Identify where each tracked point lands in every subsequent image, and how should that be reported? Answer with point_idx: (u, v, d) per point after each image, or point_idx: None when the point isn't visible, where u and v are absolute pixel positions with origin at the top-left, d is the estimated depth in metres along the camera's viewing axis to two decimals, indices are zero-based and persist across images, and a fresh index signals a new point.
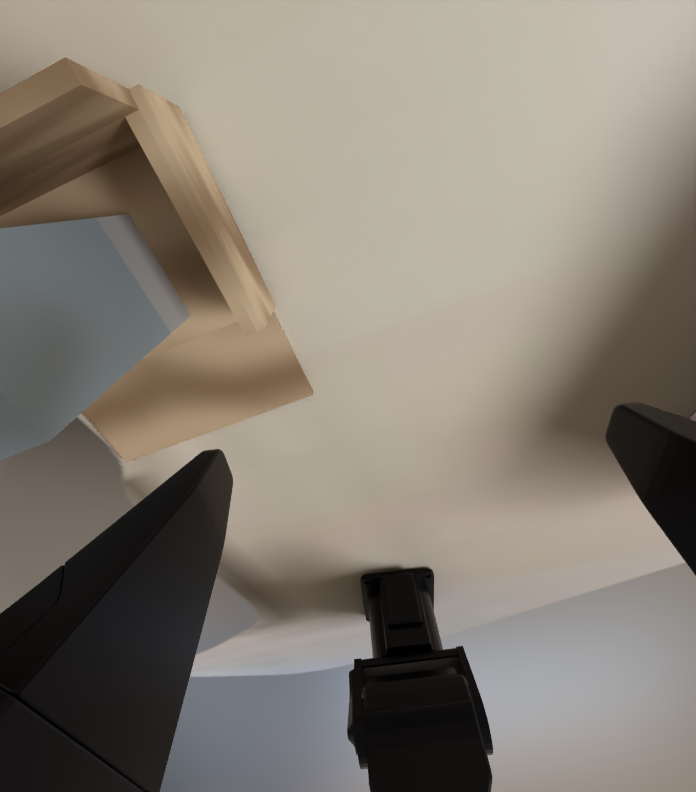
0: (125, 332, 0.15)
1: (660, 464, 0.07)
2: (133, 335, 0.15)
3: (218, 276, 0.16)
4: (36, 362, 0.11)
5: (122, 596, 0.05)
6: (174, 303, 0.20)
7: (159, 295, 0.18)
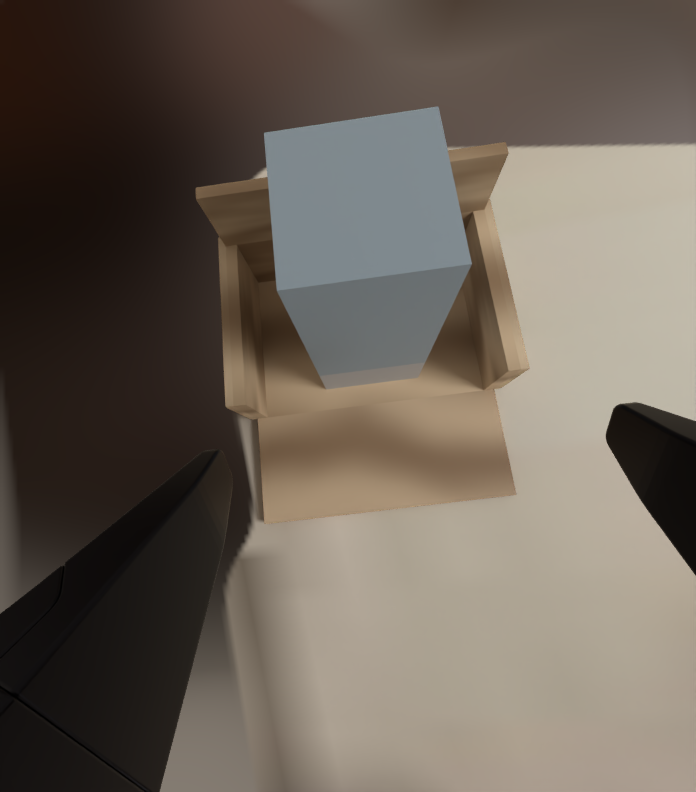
0: None
1: (660, 464, 0.07)
2: None
3: (501, 315, 0.18)
4: None
5: (122, 596, 0.05)
6: None
7: None
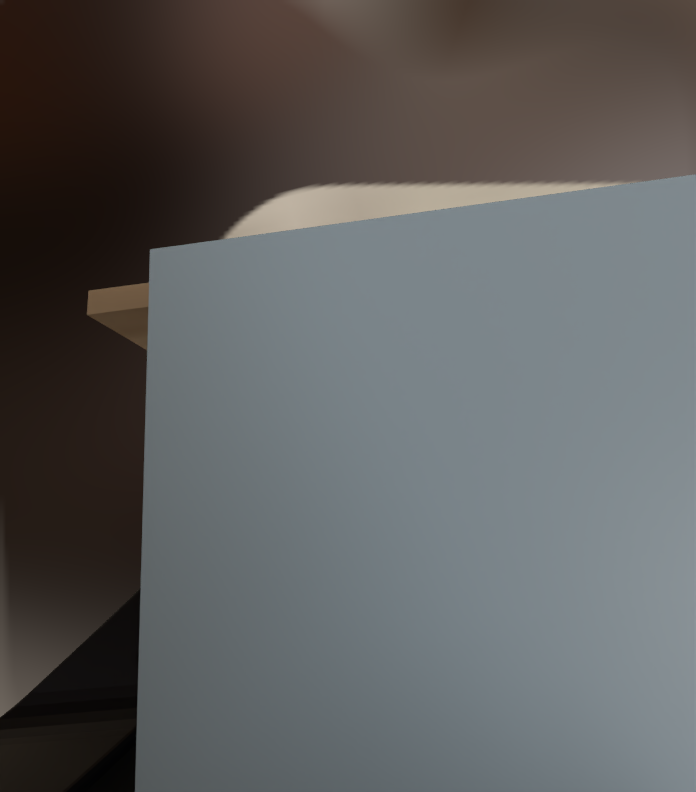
0: None
1: None
2: None
3: None
4: None
5: None
6: None
7: None
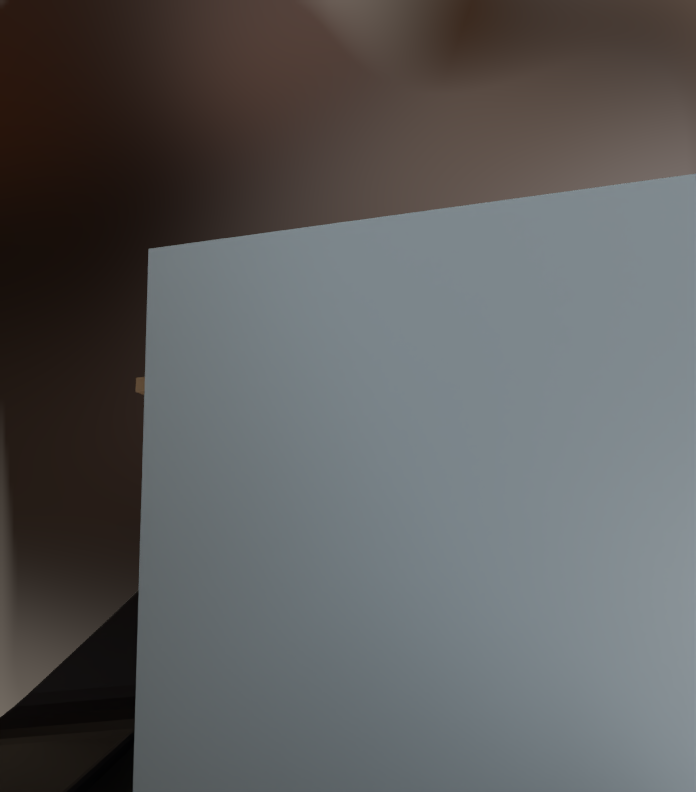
0: None
1: None
2: None
3: None
4: None
5: None
6: None
7: None
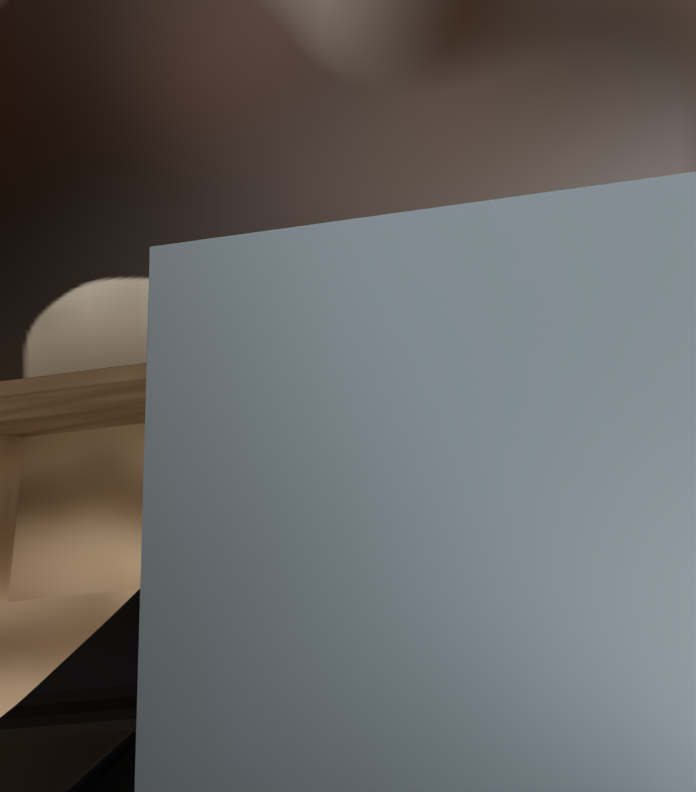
0: None
1: None
2: None
3: None
4: None
5: None
6: None
7: None
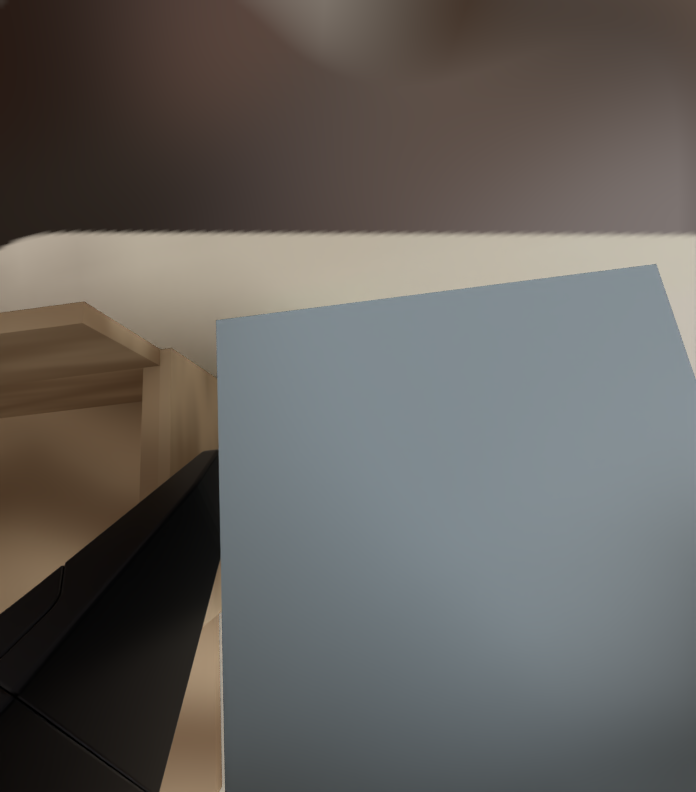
0: None
1: None
2: None
3: None
4: None
5: (122, 596, 0.05)
6: None
7: None
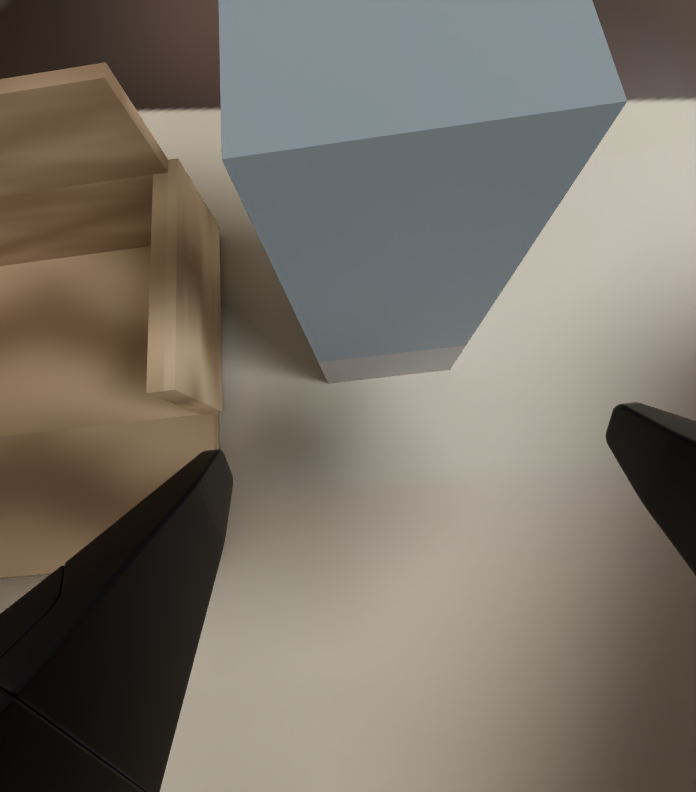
0: None
1: (660, 464, 0.07)
2: None
3: (154, 314, 0.13)
4: None
5: (122, 596, 0.05)
6: None
7: None
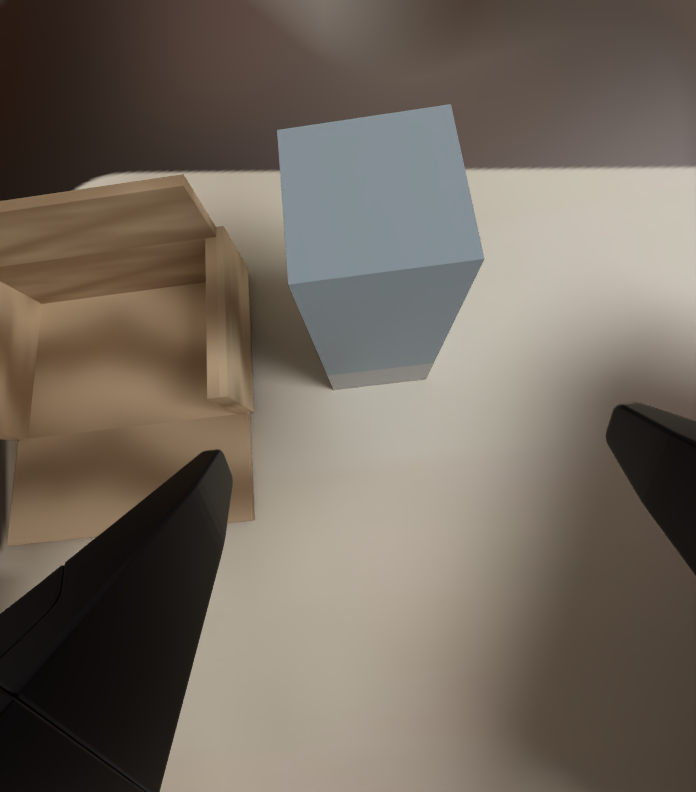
0: None
1: (660, 464, 0.07)
2: None
3: (211, 342, 0.18)
4: None
5: (122, 596, 0.05)
6: None
7: None
